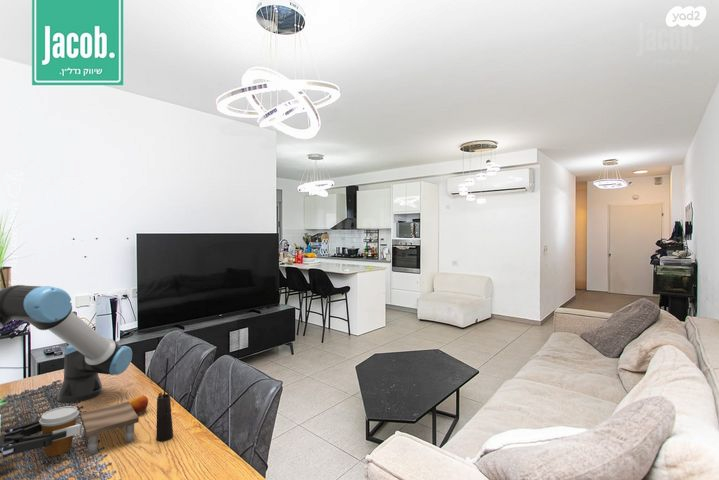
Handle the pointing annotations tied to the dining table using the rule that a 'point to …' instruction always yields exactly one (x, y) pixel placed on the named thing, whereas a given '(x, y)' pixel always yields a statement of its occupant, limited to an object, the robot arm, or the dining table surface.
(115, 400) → the dining table surface
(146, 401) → the fruit
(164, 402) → the butter churn
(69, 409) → the disposable coffee cup
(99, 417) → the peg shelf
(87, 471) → the dining table surface
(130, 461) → the dining table surface
